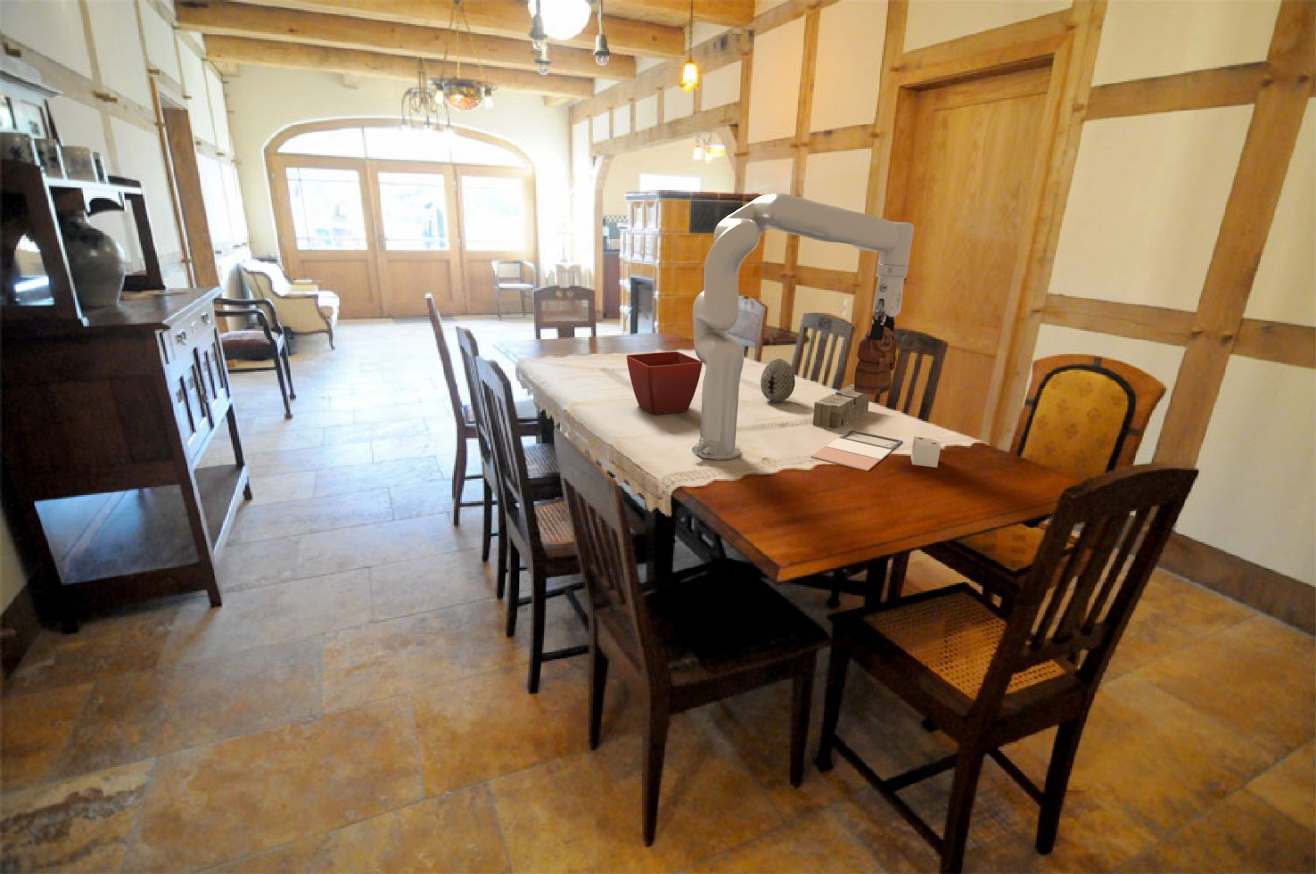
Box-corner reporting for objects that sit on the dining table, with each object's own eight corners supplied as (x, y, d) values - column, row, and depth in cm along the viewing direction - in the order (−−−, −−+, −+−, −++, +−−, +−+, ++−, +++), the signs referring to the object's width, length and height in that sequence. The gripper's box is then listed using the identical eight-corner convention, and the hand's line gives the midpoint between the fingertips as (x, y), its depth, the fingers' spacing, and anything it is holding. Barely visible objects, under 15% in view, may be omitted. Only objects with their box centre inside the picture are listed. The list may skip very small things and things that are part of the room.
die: (936, 467, 165) (940, 445, 163) (912, 464, 166) (916, 443, 164) (934, 459, 170) (938, 438, 168) (910, 457, 172) (914, 436, 170)
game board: (867, 471, 161) (867, 470, 160) (810, 457, 169) (811, 455, 169) (902, 442, 183) (902, 440, 183) (850, 430, 192) (851, 429, 191)
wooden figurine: (868, 396, 170) (878, 329, 165) (849, 391, 175) (858, 325, 169) (895, 391, 177) (906, 327, 171) (876, 386, 182) (886, 323, 176)
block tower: (835, 433, 192) (870, 410, 214) (838, 407, 189) (873, 386, 211) (811, 427, 197) (848, 405, 218) (813, 402, 194) (851, 382, 215)
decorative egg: (797, 400, 222) (802, 358, 217) (785, 408, 213) (789, 364, 208) (766, 395, 228) (770, 354, 223) (753, 402, 219) (757, 359, 214)
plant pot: (624, 403, 214) (625, 354, 208) (675, 398, 221) (677, 350, 216) (647, 419, 197) (648, 366, 192) (701, 413, 205) (704, 362, 199)
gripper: (896, 274, 157) (885, 343, 162) (915, 271, 170) (904, 335, 176) (866, 271, 161) (856, 339, 166) (887, 269, 174) (877, 332, 180)
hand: (881, 337), depth 171 cm, fingers closed on wooden figurine, 8 cm apart
